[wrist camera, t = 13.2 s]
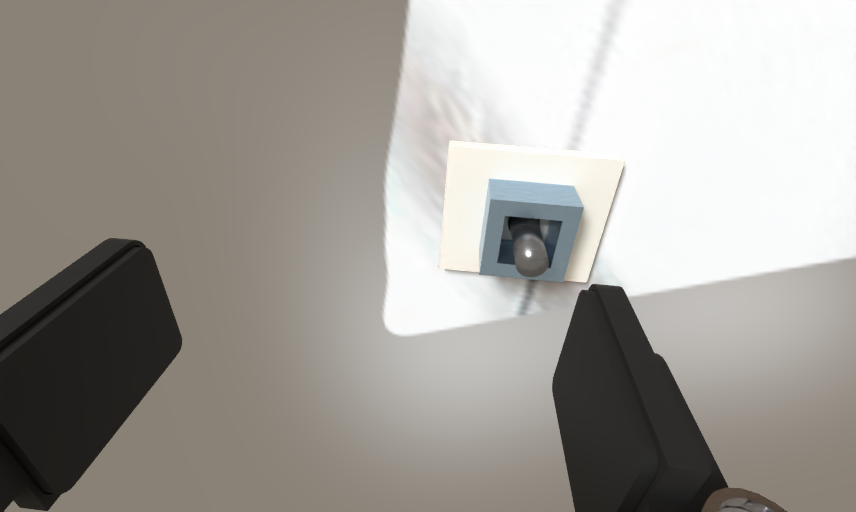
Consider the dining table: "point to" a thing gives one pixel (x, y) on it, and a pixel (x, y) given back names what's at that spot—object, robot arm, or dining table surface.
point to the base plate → (528, 164)
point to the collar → (529, 203)
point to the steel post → (528, 246)
